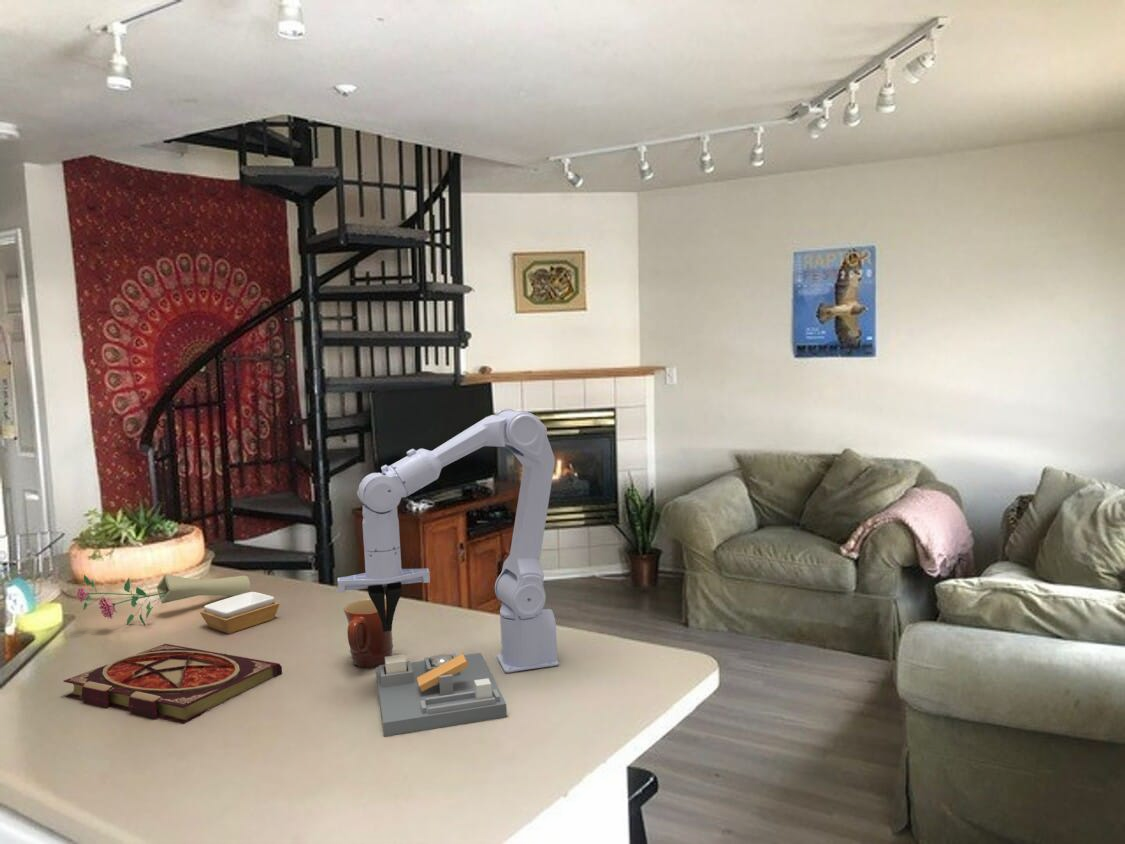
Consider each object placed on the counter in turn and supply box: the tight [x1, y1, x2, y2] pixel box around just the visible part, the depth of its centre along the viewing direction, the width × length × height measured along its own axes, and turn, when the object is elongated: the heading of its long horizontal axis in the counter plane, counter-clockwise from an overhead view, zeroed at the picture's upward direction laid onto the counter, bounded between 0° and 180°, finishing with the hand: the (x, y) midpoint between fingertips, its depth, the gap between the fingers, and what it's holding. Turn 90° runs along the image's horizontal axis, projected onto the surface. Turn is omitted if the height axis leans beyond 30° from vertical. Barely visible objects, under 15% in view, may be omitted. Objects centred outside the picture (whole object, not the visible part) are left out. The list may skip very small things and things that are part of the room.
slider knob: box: [474, 678, 492, 700], centre depth 126 cm, size 2×2×3 cm
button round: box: [431, 653, 452, 667], centre depth 138 cm, size 3×3×2 cm
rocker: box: [417, 653, 469, 691], centre depth 131 cm, size 8×4×1 cm, turn 106°
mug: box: [343, 597, 394, 668], centre depth 147 cm, size 12×9×10 cm
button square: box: [384, 654, 407, 674], centre depth 135 cm, size 3×3×2 cm
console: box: [375, 652, 508, 737], centre depth 133 cm, size 18×22×5 cm
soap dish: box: [199, 591, 280, 635], centre depth 173 cm, size 12×10×5 cm
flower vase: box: [76, 573, 251, 626], centre depth 180 cm, size 12×12×35 cm
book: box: [63, 643, 283, 725], centre depth 142 cm, size 28×21×5 cm
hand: (387, 629), depth 136 cm, fingers closed
